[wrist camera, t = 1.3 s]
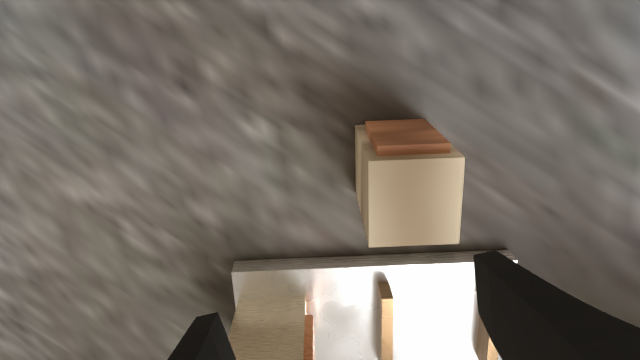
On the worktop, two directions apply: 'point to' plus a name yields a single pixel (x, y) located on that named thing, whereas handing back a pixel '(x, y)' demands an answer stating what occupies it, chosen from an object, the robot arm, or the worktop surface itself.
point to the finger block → (408, 183)
